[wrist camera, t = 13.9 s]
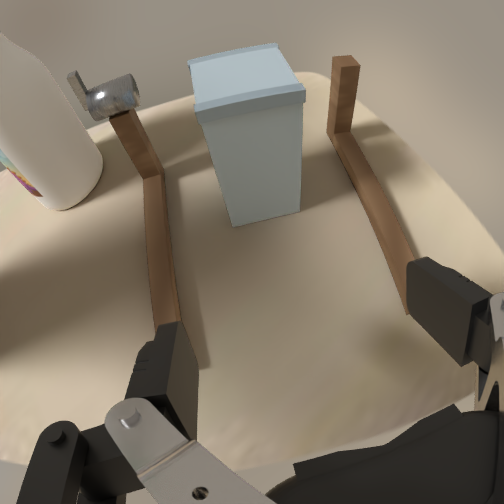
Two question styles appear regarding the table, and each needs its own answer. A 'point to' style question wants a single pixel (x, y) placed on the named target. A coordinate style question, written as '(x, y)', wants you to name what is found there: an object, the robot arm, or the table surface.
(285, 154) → the lidded storage bin
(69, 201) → the milk bottle
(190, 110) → the table surface
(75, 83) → the metal cylinder with tab
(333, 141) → the bay
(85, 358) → the table surface
